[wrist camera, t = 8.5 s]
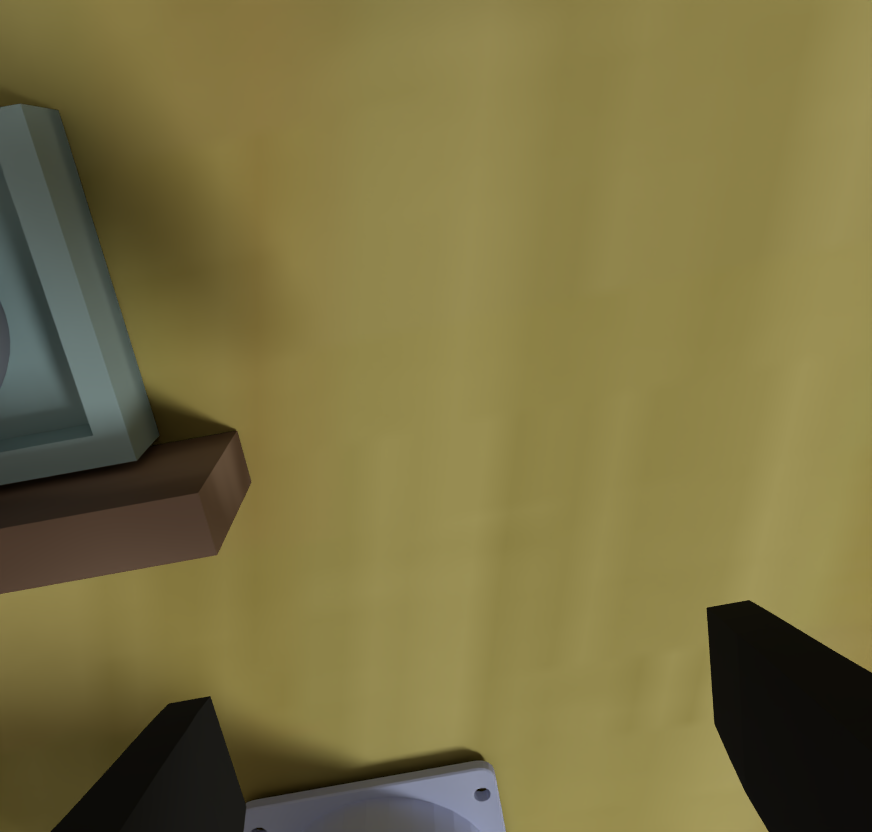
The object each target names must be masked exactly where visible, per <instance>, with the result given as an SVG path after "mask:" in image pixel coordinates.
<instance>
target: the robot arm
mask: <svg viewBox="0 0 872 832" xmlns="http://www.w3.org/2000/svg"><path fill="white" fill-rule="evenodd" d="M707 620H708V635H709V650H710V665H711V680H712V695H713V709H714V724H715V726H716V728H717V731H718V733H719V735H720V738H721V740H722V742H723V744H724V747H725V749H726V751H727V753H728V756H729V758H730V760H731V762H732V764H733V767H734V769H735V771H736V773H737V775H738V777H739V779H740V782H741V784H742V786H743V788H744V790H745V792H746V794H747V796H748V797H749V799H750V801H751V803H752V804H753V806H754V808H755V809H756V811H757V813H758V814H759V816H760V818H761V819H762V821H763V823H764V825H765V826H766V828H767V830H768V831H769V832H872V673H871V672H869V671H868V670H866V669H864V668H862V667H861V666H859V665H857V664H856V663H854V662H852V661H850V660H849V659H847V658H845V657H844V656H842V655H840V654H838V653H837V652H835V651H833V650H832V649H830V648H828V647H827V646H825V645H823V644H822V643H820V642H818V641H817V640H815V639H813V638H812V637H810V636H808V635H807V634H805V633H803V632H802V631H800V630H799V629H797V628H795V627H794V626H792V625H790V624H789V623H787V622H785V621H784V620H782V619H780V618H779V617H777V616H775V615H774V614H772V613H770V612H769V611H767V610H765V609H764V608H762V607H760V606H759V605H757V604H755V603H753V602H751V601H750V600H747V601H742V602H736V603H731V604H725V605H719V606H714V607H708V608H707ZM480 788H486V790H484V791H476V790H477V789H480ZM256 828H263V829H265V830H258V829H256ZM51 832H506V830H505V824H504V819H503V814H502V808H501V803H500V798H499V792H498V787H497V782H496V776H495V771H494V769H493V766H492V765H491V764H489V763H488V762H485V761H471V762H466V763H460V764H454V765H449V766H443V767H437V768H432V769H426V770H421V771H415V772H409V773H404V774H398V775H392V776H387V777H381V778H375V779H370V780H364V781H358V782H353V783H347V784H342V785H336V786H330V787H325V788H319V789H313V790H308V791H302V792H296V793H291V794H285V795H279V796H274V797H268V798H262V799H257V800H252V801H249V802H247V803H246V804H245V801H244V798H243V795H242V792H241V789H240V786H239V783H238V780H237V776H236V773H235V770H234V767H233V764H232V761H231V758H230V755H229V752H228V749H227V746H226V743H225V740H224V737H223V734H222V731H221V728H220V725H219V721H218V718H217V715H216V712H215V709H214V706H213V703H212V700H211V697H210V696H209V697H203V698H198V699H192V700H187V701H181V702H175V703H170V704H168V705H167V706H166V707H165V708H164V709H163V710H162V711H161V712H160V713H159V714H158V715H157V716H156V717H155V718H154V719H153V720H152V721H151V722H150V724H149V725H148V726H147V727H146V728H145V729H144V730H143V731H142V732H141V733H140V735H139V736H138V737H137V738H136V739H135V740H134V741H133V742H132V743H131V745H130V746H129V747H128V748H127V749H126V750H125V751H124V752H123V753H122V755H121V756H120V757H119V758H118V759H117V760H116V761H115V762H114V763H113V765H112V766H111V767H110V768H109V769H108V770H107V771H106V772H105V773H104V775H103V776H102V777H101V778H100V779H99V780H98V781H97V782H96V783H95V784H94V785H93V787H92V788H91V789H90V790H89V791H88V792H87V793H86V794H85V795H84V796H83V797H82V799H81V800H80V801H79V802H78V803H77V804H76V805H75V806H74V807H73V808H72V810H71V811H70V812H69V813H68V814H67V815H66V816H65V817H64V818H63V819H62V820H61V821H60V822H59V824H58V825H57V826H56V827H55V828H54V829H53V830H52V831H51Z"/></svg>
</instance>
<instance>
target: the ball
mask: <svg viewBox="0 0 872 832" xmlns="http://www.w3.org/2000/svg"><path fill="white" fill-rule="evenodd" d="M9 356H10V334H9V326H8V322H7V318H6V314H5V312H4V309H3V307H2V304H1V302H0V388H1V386H2V384H3V381H4V378H5V375H6V372H7V367H8V362H9Z"/></svg>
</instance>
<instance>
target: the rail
mask: <svg viewBox="0 0 872 832" xmlns="http://www.w3.org/2000/svg"><path fill="white" fill-rule="evenodd" d="M250 484H251V479H250V476H249V472H248V468H247V465H246V461H245V458H244V454H243V450H242V447H241V443H240V439H239V436H238V432H237V431H232V432H226V433H221V434H215V435H210V436H204V437H199V438H193V439H188V440H182V441H177V442H171V443H166V444H160V445H155V446H149V448H148V449H147V450H146V451H145V452H144V453H143V454H142V455H141V456H140V458H139V459H138V460H137V461H132V462H126V463H121V464H115V465H110V466H104V467H99V468H93V469H88V470H82V471H77V472H71V473H66V474H60V475H55V476H49V477H43V478H38V479H32V480H27V481H21V482H16V483H10V484H5V485H0V594H3V593H8V592H14V591H20V590H25V589H31V588H36V587H42V586H47V585H53V584H58V583H64V582H70V581H75V580H81V579H86V578H92V577H97V576H103V575H108V574H114V573H120V572H125V571H131V570H136V569H142V568H147V567H153V566H158V565H164V564H170V563H175V562H181V561H186V560H192V559H197V558H203V557H209V556H214V555H217V554H218V552H219V550H220V548H221V546H222V543H223V541H224V539H225V537H226V535H227V533H228V531H229V529H230V527H231V524H232V522H233V520H234V518H235V516H236V514H237V512H238V510H239V507H240V505H241V503H242V501H243V499H244V497H245V495H246V493H247V490H248V488H249V486H250Z"/></svg>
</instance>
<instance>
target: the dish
mask: <svg viewBox="0 0 872 832" xmlns="http://www.w3.org/2000/svg"><path fill="white" fill-rule="evenodd" d="M0 302H1V304H2V307H3V309H4V312H5V314H6V318H7V322H8V326H9V334H10V356H9V362H8V367H7V372H6V375H5V378H4V381H3V384H2V386H1V388H0V485H5V484H10V483H16V482H21V481H27V480H32V479H38V478H43V477H49V476H55V475H60V474H66V473H71V472H77V471H82V470H88V469H93V468H99V467H104V466H110V465H115V464H121V463H126V462H132V461H137V460H138V459H139V458H140V456H141V455H142V454H143V453H144V452H145V451H146V450H147V449H148V448H149V446H150V445H151V444H152V443H153V442H154V441H155V440H156V439H157V438H158V436H159V432H158V429H157V425H156V422H155V419H154V416H153V413H152V409H151V406H150V403H149V400H148V397H147V393H146V390H145V387H144V384H143V381H142V377H141V374H140V371H139V368H138V364H137V361H136V358H135V355H134V352H133V348H132V345H131V342H130V339H129V336H128V332H127V329H126V326H125V323H124V320H123V316H122V313H121V310H120V307H119V303H118V300H117V297H116V294H115V291H114V287H113V284H112V281H111V278H110V275H109V271H108V268H107V265H106V262H105V259H104V255H103V252H102V249H101V246H100V242H99V239H98V236H97V233H96V230H95V226H94V223H93V220H92V217H91V214H90V210H89V207H88V204H87V201H86V198H85V194H84V191H83V188H82V185H81V181H80V178H79V175H78V172H77V169H76V165H75V162H74V159H73V156H72V153H71V149H70V146H69V143H68V140H67V137H66V133H65V130H64V127H63V124H62V120H61V117H60V114H59V111H58V110H54V109H48V108H43V107H37V106H32V105H26V104H15V105H10V106H4V107H0Z"/></svg>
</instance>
